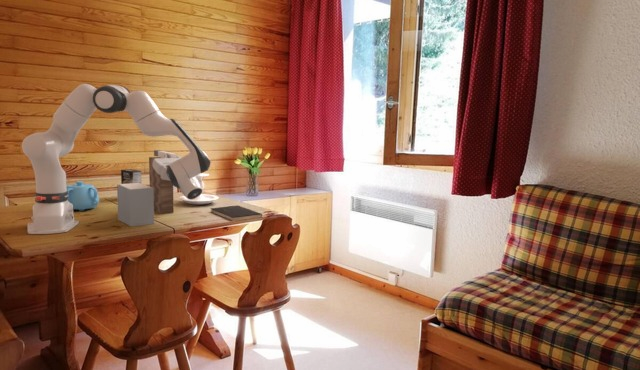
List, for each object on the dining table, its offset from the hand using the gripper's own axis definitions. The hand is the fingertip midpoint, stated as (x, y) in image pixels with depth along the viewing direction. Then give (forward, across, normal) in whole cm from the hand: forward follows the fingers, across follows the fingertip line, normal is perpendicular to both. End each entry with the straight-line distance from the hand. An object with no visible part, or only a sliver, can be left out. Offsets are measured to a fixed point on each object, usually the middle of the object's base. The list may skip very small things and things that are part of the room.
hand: (169, 154), depth 219 cm
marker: (+4, 0, +4) cm, 6 cm away
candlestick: (+4, -24, +36) cm, 43 cm away
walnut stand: (-5, 0, +30) cm, 31 cm away
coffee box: (+27, +1, +49) cm, 56 cm away
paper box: (-18, +18, +23) cm, 34 cm away
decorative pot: (+16, +30, +43) cm, 55 cm away
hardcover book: (-28, -27, +18) cm, 42 cm away
